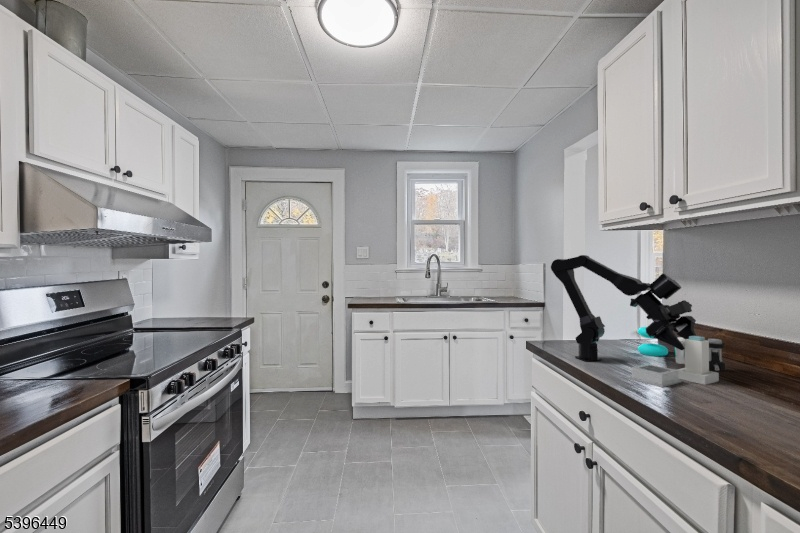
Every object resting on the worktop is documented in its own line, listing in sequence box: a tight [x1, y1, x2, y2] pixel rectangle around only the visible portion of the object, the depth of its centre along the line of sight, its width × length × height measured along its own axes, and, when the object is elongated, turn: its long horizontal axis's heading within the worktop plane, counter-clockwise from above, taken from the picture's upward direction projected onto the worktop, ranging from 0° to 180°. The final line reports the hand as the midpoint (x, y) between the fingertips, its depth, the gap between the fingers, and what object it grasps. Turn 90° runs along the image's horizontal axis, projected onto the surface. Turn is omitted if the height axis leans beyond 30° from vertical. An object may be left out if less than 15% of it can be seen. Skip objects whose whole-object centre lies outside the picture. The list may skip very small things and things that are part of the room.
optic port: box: [628, 363, 683, 388], centre depth 120 cm, size 10×10×4 cm
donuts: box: [637, 326, 669, 357], centre depth 155 cm, size 10×10×10 cm
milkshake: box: [674, 336, 685, 365], centre depth 141 cm, size 5×5×10 cm
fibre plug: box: [684, 335, 710, 375], centre depth 121 cm, size 4×4×13 cm
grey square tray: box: [676, 367, 720, 386], centre depth 121 cm, size 8×8×2 cm
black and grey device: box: [707, 338, 726, 372], centre depth 132 cm, size 7×5×10 cm
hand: (691, 347), depth 122 cm, fingers open, 9 cm apart
